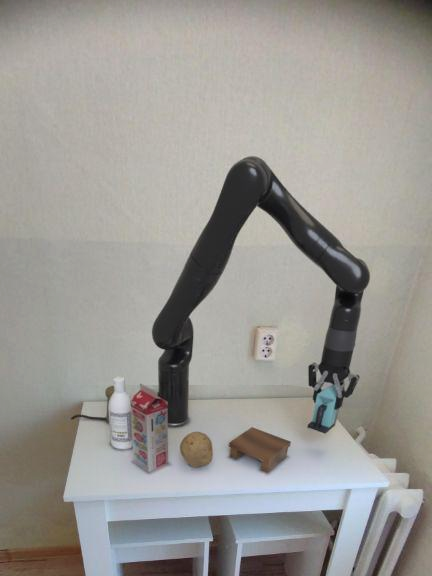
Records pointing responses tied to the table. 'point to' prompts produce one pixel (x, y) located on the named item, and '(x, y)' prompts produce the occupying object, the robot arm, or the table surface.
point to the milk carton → (149, 429)
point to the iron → (324, 410)
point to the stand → (260, 447)
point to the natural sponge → (196, 449)
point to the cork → (109, 393)
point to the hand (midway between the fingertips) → (326, 405)
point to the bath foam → (120, 416)
